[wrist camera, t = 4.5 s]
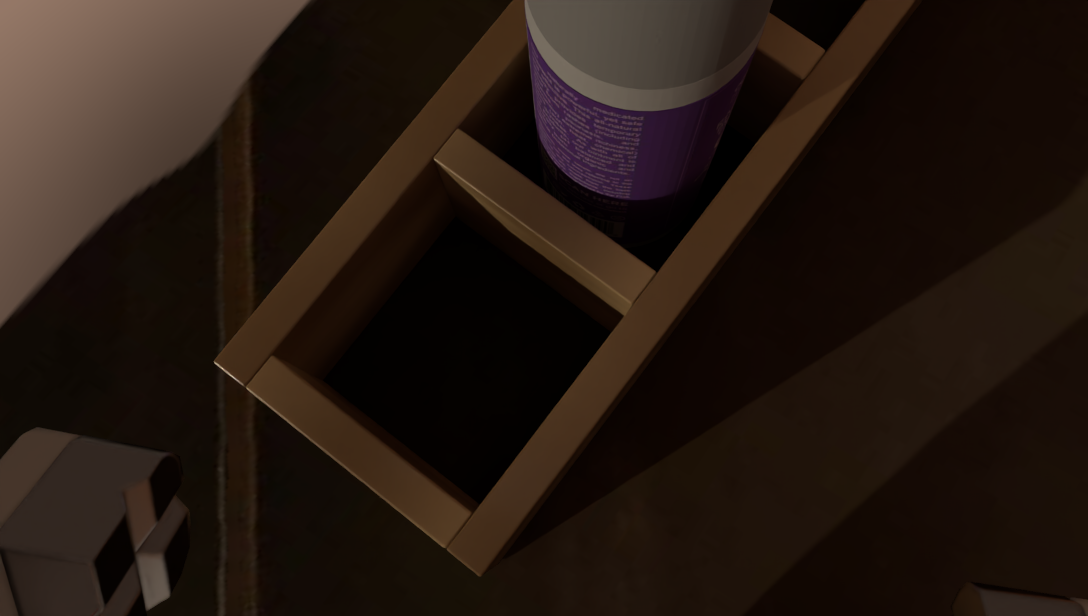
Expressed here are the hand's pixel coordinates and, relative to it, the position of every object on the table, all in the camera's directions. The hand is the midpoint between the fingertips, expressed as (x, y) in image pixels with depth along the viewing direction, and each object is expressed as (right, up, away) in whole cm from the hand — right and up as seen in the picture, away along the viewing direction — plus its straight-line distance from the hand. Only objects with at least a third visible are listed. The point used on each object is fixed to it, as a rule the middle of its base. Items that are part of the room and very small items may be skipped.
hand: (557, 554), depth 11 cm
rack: (+2, +7, +19) cm, 20 cm away
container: (+2, +7, +19) cm, 20 cm away
